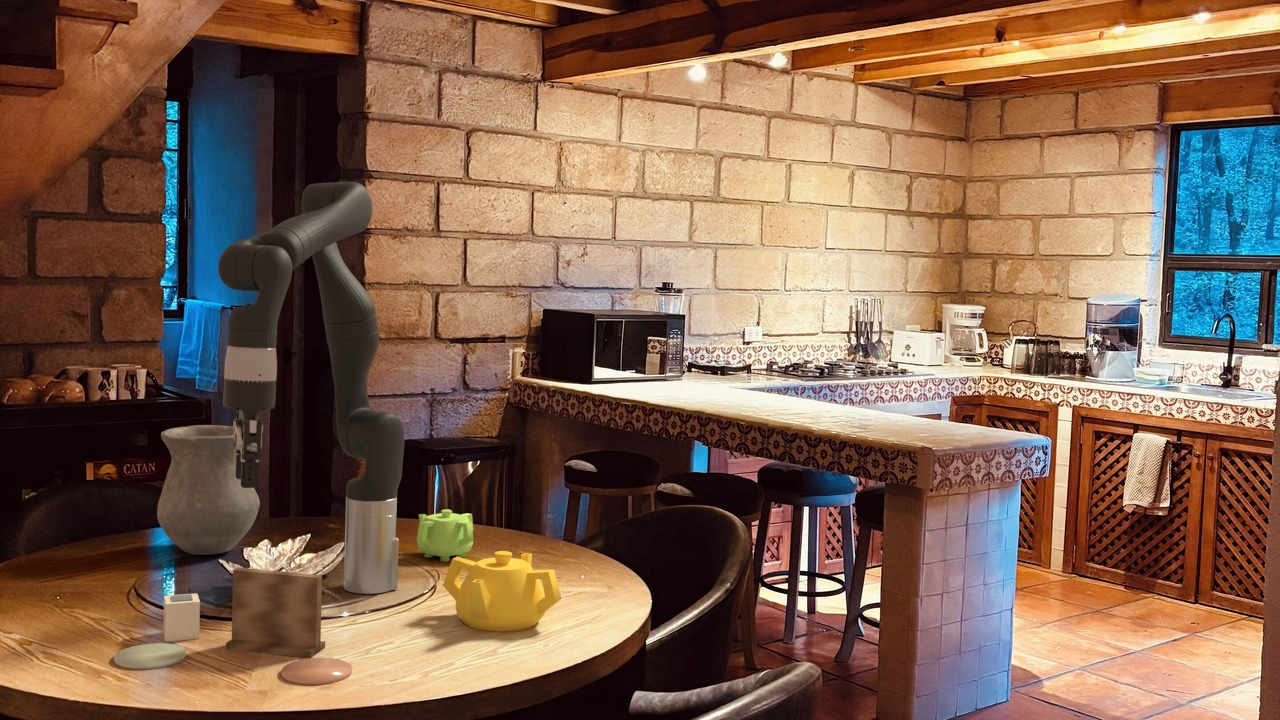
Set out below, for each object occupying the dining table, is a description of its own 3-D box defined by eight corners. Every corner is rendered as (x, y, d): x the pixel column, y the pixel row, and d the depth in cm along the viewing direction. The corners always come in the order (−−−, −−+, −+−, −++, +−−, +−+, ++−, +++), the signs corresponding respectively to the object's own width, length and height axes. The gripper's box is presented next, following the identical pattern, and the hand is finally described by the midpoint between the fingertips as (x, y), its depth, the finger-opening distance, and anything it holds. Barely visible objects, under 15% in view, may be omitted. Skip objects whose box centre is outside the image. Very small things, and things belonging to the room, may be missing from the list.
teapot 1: (472, 550, 252) (474, 504, 252) (474, 563, 241) (475, 516, 240) (416, 549, 250) (418, 504, 250) (415, 563, 239) (417, 515, 238)
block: (196, 629, 191) (197, 592, 190) (199, 638, 186) (200, 600, 186) (163, 632, 189) (163, 594, 188) (165, 641, 184) (165, 602, 184)
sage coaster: (183, 644, 183) (183, 640, 183) (188, 665, 174) (188, 661, 174) (113, 650, 179) (113, 647, 179) (114, 672, 170) (114, 668, 170)
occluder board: (225, 648, 182) (227, 572, 181) (242, 639, 187) (243, 564, 186) (310, 657, 180) (312, 580, 179) (325, 647, 184) (326, 572, 184)
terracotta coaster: (344, 658, 180) (344, 654, 180) (358, 680, 171) (358, 676, 171) (276, 665, 176) (276, 661, 175) (287, 688, 167) (287, 683, 166)
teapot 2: (563, 630, 199) (566, 560, 198) (469, 640, 192) (471, 567, 191) (528, 603, 214) (530, 538, 213) (439, 611, 207) (441, 544, 206)
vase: (237, 565, 231) (240, 439, 229) (141, 561, 231) (142, 434, 229) (270, 542, 251) (273, 426, 249) (181, 538, 251) (183, 422, 249)
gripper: (282, 381, 173) (276, 490, 174) (270, 374, 186) (265, 475, 187) (228, 379, 170) (223, 491, 171) (220, 372, 183) (215, 476, 184)
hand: (245, 483), depth 179 cm, fingers open, 8 cm apart
